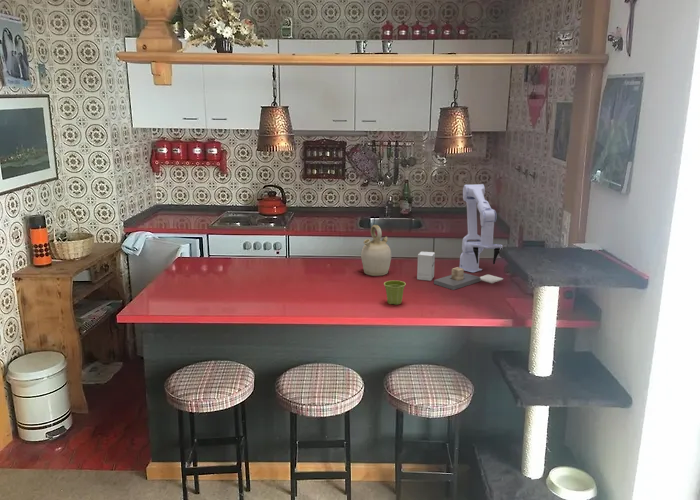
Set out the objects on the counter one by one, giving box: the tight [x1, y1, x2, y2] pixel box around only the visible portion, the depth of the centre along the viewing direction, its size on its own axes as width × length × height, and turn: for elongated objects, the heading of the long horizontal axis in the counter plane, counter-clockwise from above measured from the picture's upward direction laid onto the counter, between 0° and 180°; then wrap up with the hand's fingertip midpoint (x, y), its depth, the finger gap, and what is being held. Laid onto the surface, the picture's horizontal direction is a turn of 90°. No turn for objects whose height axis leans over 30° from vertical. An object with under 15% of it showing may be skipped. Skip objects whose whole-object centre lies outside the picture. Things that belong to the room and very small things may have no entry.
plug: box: [451, 266, 465, 281], centre depth 282 cm, size 4×4×7 cm
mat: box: [480, 274, 504, 284], centre depth 288 cm, size 9×9×1 cm
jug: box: [360, 224, 392, 277], centre depth 297 cm, size 15×16×25 cm
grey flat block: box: [433, 272, 482, 291], centre depth 283 cm, size 12×20×2 cm, turn 130°
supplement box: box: [416, 251, 436, 282], centre depth 289 cm, size 7×7×13 cm
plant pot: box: [383, 280, 406, 305], centre depth 255 cm, size 9×9×9 cm
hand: (485, 263), depth 280 cm, fingers open, 7 cm apart
